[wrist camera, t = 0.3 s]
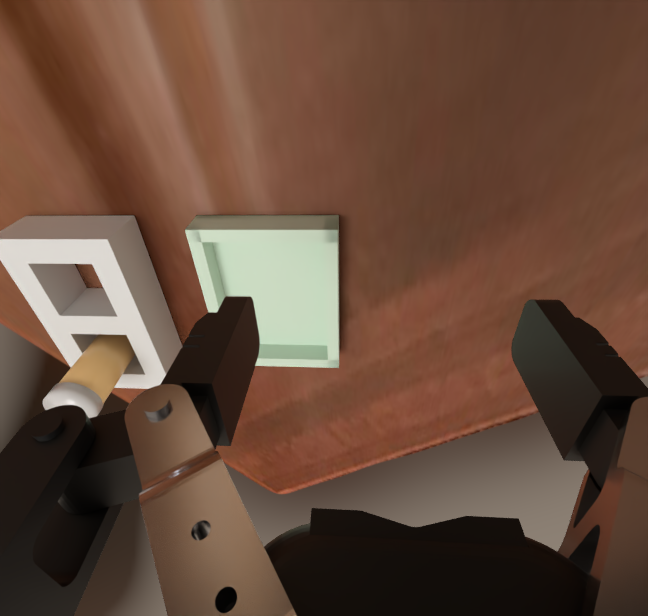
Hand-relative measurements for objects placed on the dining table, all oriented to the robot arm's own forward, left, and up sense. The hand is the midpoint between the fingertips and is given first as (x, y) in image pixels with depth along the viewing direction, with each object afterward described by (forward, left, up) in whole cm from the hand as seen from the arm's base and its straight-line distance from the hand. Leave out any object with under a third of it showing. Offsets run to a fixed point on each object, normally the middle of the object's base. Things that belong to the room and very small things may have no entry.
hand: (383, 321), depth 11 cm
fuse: (+16, -22, -18) cm, 33 cm away
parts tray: (+11, -7, -18) cm, 22 cm away
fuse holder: (+12, -22, -18) cm, 31 cm away
